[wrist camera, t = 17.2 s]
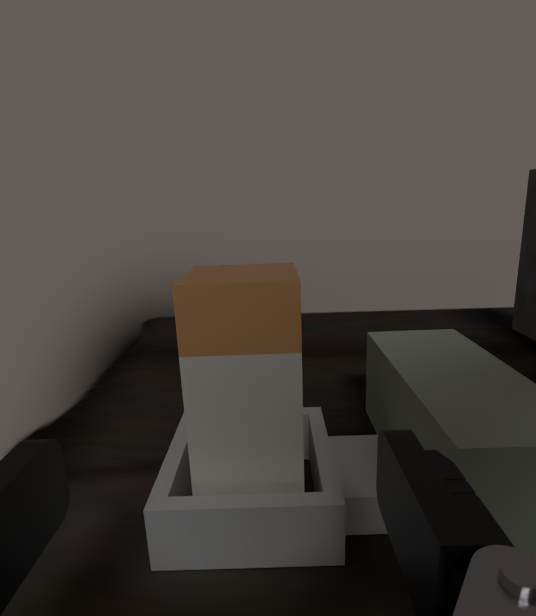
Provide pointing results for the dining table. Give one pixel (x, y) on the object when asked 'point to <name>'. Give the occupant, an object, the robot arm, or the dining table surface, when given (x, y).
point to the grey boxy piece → (364, 463)
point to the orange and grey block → (242, 377)
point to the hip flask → (527, 268)
